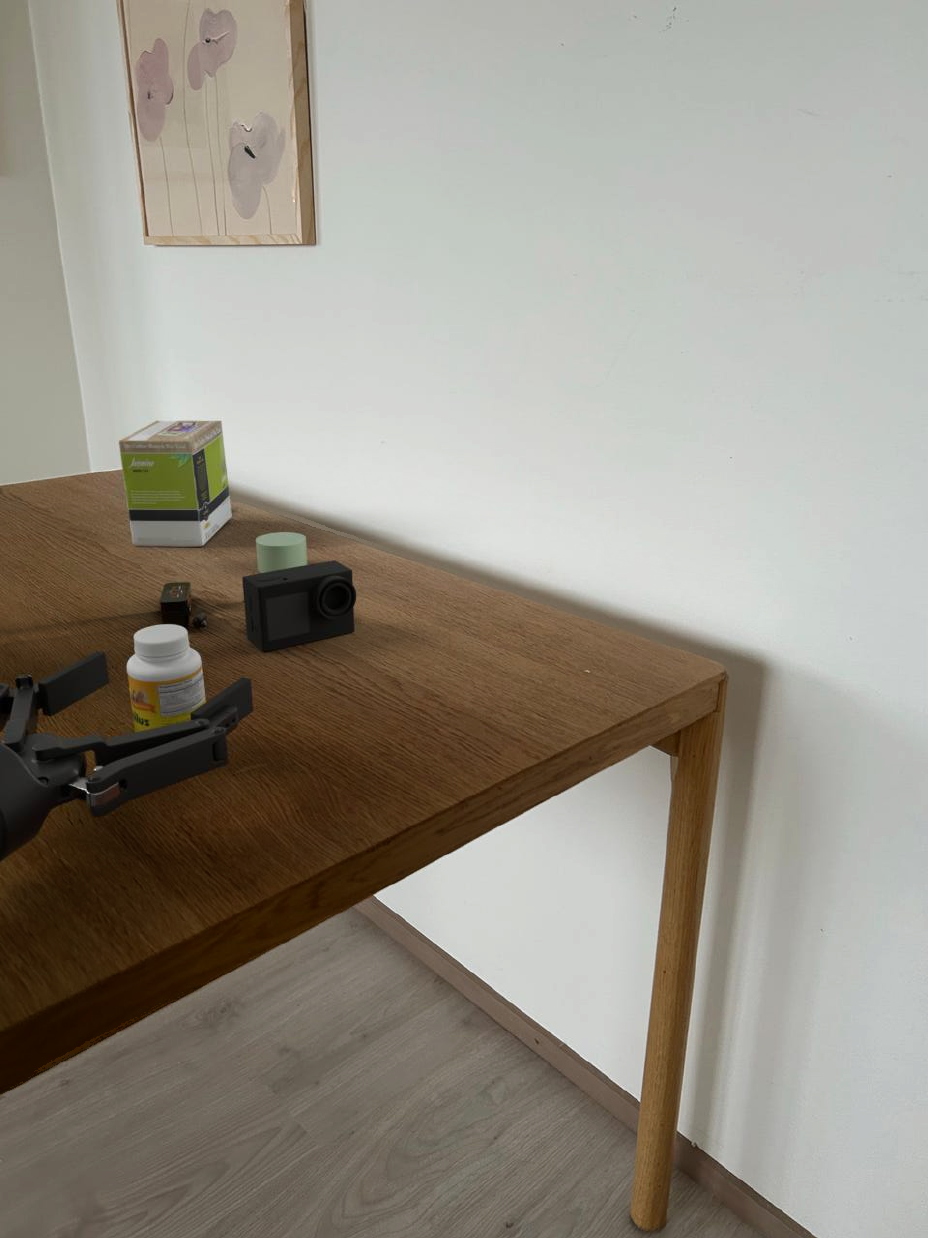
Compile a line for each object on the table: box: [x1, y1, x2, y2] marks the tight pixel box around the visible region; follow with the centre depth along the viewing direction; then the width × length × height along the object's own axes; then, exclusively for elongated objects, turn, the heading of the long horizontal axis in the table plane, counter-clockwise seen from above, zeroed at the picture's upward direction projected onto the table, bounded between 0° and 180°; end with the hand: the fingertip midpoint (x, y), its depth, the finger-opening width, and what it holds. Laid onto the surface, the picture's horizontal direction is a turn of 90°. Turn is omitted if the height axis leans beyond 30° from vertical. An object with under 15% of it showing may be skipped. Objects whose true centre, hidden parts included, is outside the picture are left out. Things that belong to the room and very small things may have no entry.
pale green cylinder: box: [255, 531, 309, 573], centre depth 116 cm, size 6×6×5 cm
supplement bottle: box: [126, 624, 207, 732], centre depth 75 cm, size 6×6×10 cm
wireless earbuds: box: [159, 581, 208, 629], centre depth 103 cm, size 5×7×3 cm, turn 11°
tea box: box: [118, 420, 233, 548], centre depth 133 cm, size 15×10×15 cm, turn 178°
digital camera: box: [241, 559, 357, 653], centre depth 98 cm, size 10×5×7 cm, turn 124°
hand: (174, 679), depth 75 cm, fingers open, 13 cm apart
